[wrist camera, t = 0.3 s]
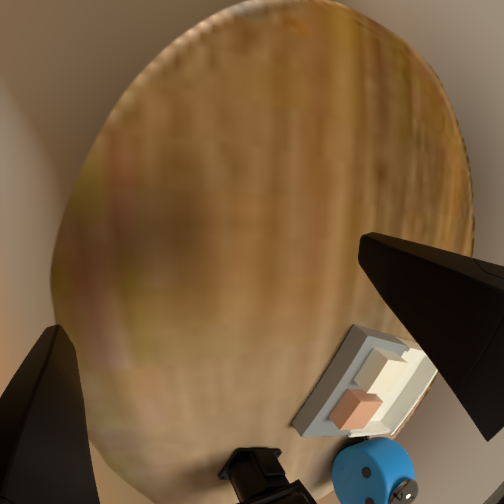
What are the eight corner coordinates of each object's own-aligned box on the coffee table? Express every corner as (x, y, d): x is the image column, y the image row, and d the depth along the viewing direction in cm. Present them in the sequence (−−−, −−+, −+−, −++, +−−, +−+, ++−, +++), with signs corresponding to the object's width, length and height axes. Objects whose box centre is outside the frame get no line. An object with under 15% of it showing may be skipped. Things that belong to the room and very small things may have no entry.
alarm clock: (349, 468, 44) (395, 524, 30) (320, 478, 41) (365, 541, 28) (377, 419, 40) (437, 480, 27) (346, 430, 38) (407, 500, 25)
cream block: (375, 382, 32) (388, 394, 30) (353, 379, 31) (366, 393, 28) (394, 352, 32) (408, 363, 30) (373, 347, 30) (388, 359, 28)
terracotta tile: (352, 416, 33) (363, 428, 31) (328, 416, 31) (339, 430, 29) (370, 389, 33) (383, 401, 30) (348, 387, 31) (360, 401, 28)
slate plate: (337, 423, 37) (347, 434, 34) (291, 422, 33) (301, 436, 31) (394, 336, 35) (407, 345, 33) (353, 324, 31) (367, 335, 29)
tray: (379, 421, 41) (392, 434, 38) (337, 423, 37) (351, 439, 33) (429, 346, 39) (445, 357, 36) (394, 336, 35) (413, 349, 32)
